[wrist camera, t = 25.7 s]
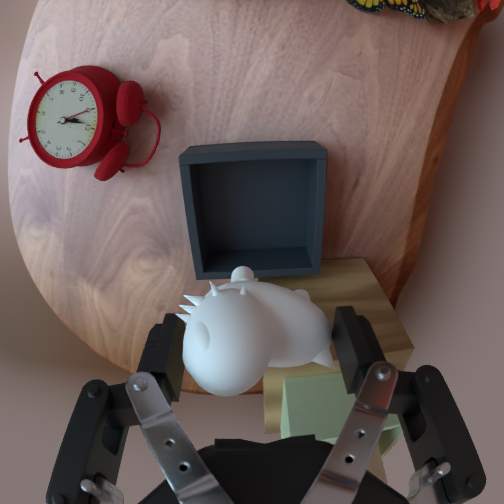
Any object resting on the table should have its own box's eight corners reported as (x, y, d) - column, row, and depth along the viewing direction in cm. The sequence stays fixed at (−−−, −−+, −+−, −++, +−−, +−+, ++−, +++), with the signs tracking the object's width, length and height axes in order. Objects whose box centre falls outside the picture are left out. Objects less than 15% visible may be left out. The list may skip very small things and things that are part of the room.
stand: (257, 262, 32) (263, 366, 20) (363, 256, 32) (414, 347, 20) (260, 339, 38) (265, 434, 26) (348, 332, 38) (376, 419, 26)
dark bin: (189, 146, 26) (178, 156, 22) (315, 140, 25) (327, 149, 21) (202, 255, 31) (196, 280, 27) (311, 250, 31) (320, 274, 27)
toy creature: (205, 231, 13) (179, 329, 8) (345, 290, 15) (382, 384, 10) (175, 300, 16) (148, 398, 10) (301, 344, 17) (316, 434, 12)
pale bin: (283, 377, 20) (290, 443, 16) (393, 363, 20) (416, 419, 16) (280, 427, 25) (284, 477, 20) (367, 415, 25) (379, 461, 20)
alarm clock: (32, 57, 16) (148, 83, 16) (74, 60, 22) (185, 90, 22) (11, 156, 21) (109, 213, 21) (51, 146, 27) (147, 194, 27)
